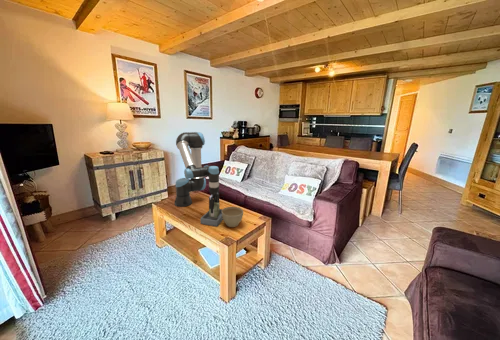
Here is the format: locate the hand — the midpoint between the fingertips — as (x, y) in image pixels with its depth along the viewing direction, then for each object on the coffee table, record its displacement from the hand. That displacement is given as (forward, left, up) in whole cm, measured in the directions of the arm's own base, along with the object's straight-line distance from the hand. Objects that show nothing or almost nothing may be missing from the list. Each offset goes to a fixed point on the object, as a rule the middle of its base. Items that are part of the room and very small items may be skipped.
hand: (214, 214), depth 158 cm
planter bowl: (+2, +16, -4) cm, 17 cm away
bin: (0, 0, -4) cm, 4 cm away
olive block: (0, 0, -1) cm, 1 cm away
